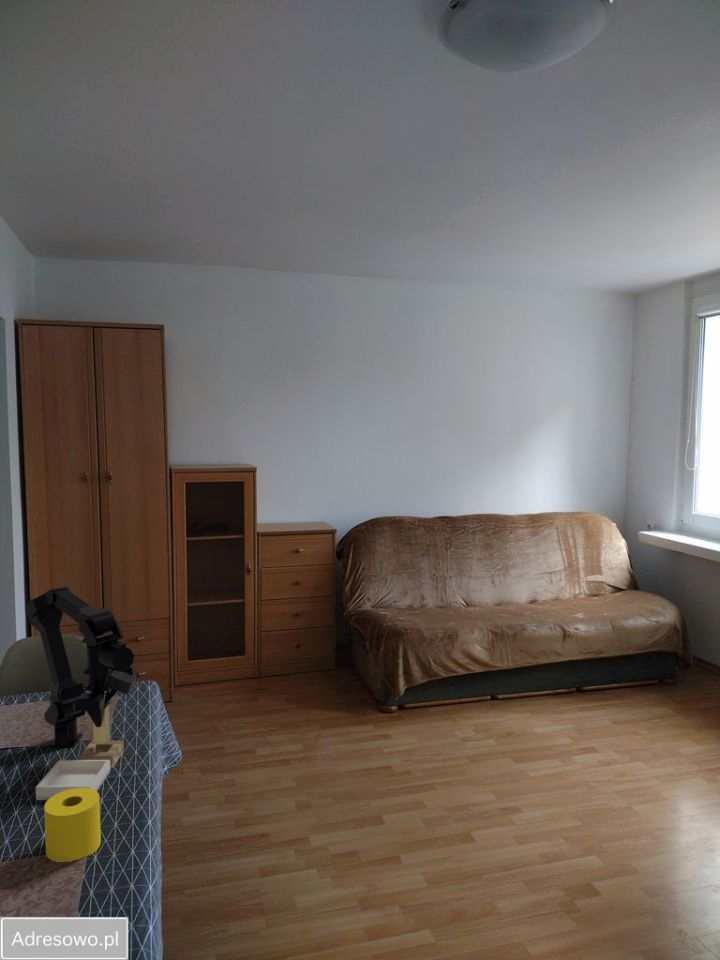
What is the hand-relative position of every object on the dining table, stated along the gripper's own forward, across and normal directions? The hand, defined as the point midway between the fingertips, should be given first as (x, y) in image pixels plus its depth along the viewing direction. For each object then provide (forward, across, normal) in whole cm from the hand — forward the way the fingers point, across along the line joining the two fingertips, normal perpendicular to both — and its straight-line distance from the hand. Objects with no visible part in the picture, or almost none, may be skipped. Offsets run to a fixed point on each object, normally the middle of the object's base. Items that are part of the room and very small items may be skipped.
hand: (101, 723), depth 168 cm
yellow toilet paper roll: (+10, -35, -7) cm, 37 cm away
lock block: (+9, 0, 0) cm, 9 cm away
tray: (+9, -12, +2) cm, 15 cm away
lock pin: (+5, 0, 0) cm, 5 cm away
